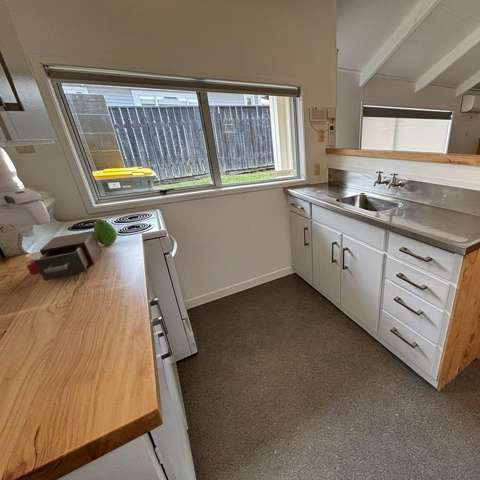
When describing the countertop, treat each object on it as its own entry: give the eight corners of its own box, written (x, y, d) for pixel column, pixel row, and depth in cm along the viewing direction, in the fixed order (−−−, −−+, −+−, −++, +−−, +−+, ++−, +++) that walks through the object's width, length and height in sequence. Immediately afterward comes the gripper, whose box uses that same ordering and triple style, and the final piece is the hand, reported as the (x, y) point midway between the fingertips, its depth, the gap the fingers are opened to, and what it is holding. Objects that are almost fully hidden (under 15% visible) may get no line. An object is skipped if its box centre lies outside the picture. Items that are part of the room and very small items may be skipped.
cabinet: (94, 264, 100) (84, 242, 96) (51, 273, 95) (39, 250, 91) (101, 251, 112) (93, 230, 108) (64, 258, 106) (53, 237, 103)
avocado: (103, 249, 114) (92, 223, 109) (95, 246, 118) (85, 221, 113) (123, 242, 120) (114, 218, 115) (115, 239, 124) (106, 216, 119)
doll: (30, 274, 95) (23, 261, 93) (33, 271, 97) (26, 258, 95) (40, 272, 96) (33, 259, 94) (42, 269, 98) (35, 257, 96)
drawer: (83, 277, 89) (73, 257, 86) (39, 287, 84) (27, 267, 81) (94, 257, 104) (87, 239, 101) (57, 265, 99) (48, 246, 96)
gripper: (-31, 198, 80) (-7, 238, 86) (20, 198, 77) (41, 240, 82) (-5, 193, 86) (16, 231, 91) (44, 193, 82) (62, 233, 88)
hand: (28, 236), depth 87 cm, fingers closed
